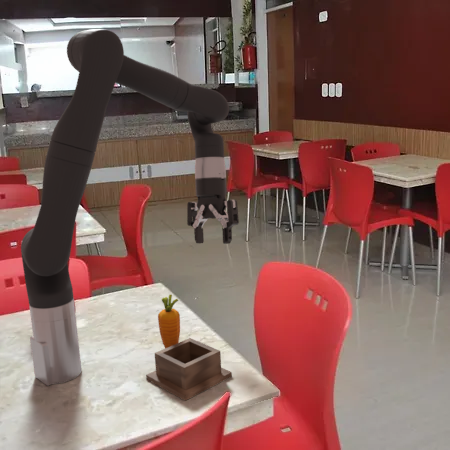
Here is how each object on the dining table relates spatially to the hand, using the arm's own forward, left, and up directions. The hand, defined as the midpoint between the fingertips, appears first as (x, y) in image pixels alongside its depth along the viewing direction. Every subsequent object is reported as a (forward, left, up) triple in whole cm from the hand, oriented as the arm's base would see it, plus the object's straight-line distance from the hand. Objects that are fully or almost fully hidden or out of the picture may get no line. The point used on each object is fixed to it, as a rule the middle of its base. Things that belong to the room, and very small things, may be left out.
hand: (213, 243), depth 134 cm
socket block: (-20, -12, -24) cm, 33 cm away
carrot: (-16, -1, -24) cm, 29 cm away
